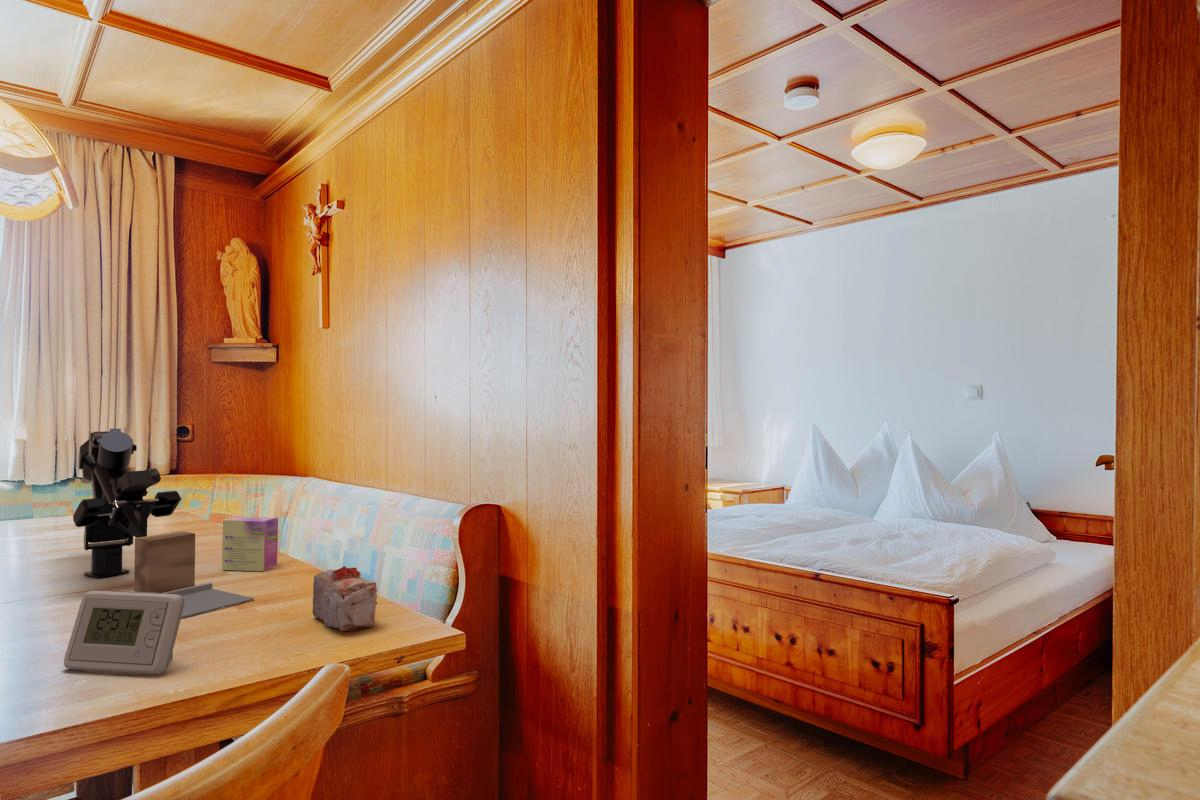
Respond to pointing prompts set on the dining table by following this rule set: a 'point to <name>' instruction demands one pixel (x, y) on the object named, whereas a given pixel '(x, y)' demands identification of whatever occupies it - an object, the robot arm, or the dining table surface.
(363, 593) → the food item
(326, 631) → the dining table surface
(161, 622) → the digital clock
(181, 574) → the walnut block
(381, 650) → the dining table surface
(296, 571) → the dining table surface
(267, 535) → the box
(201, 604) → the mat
